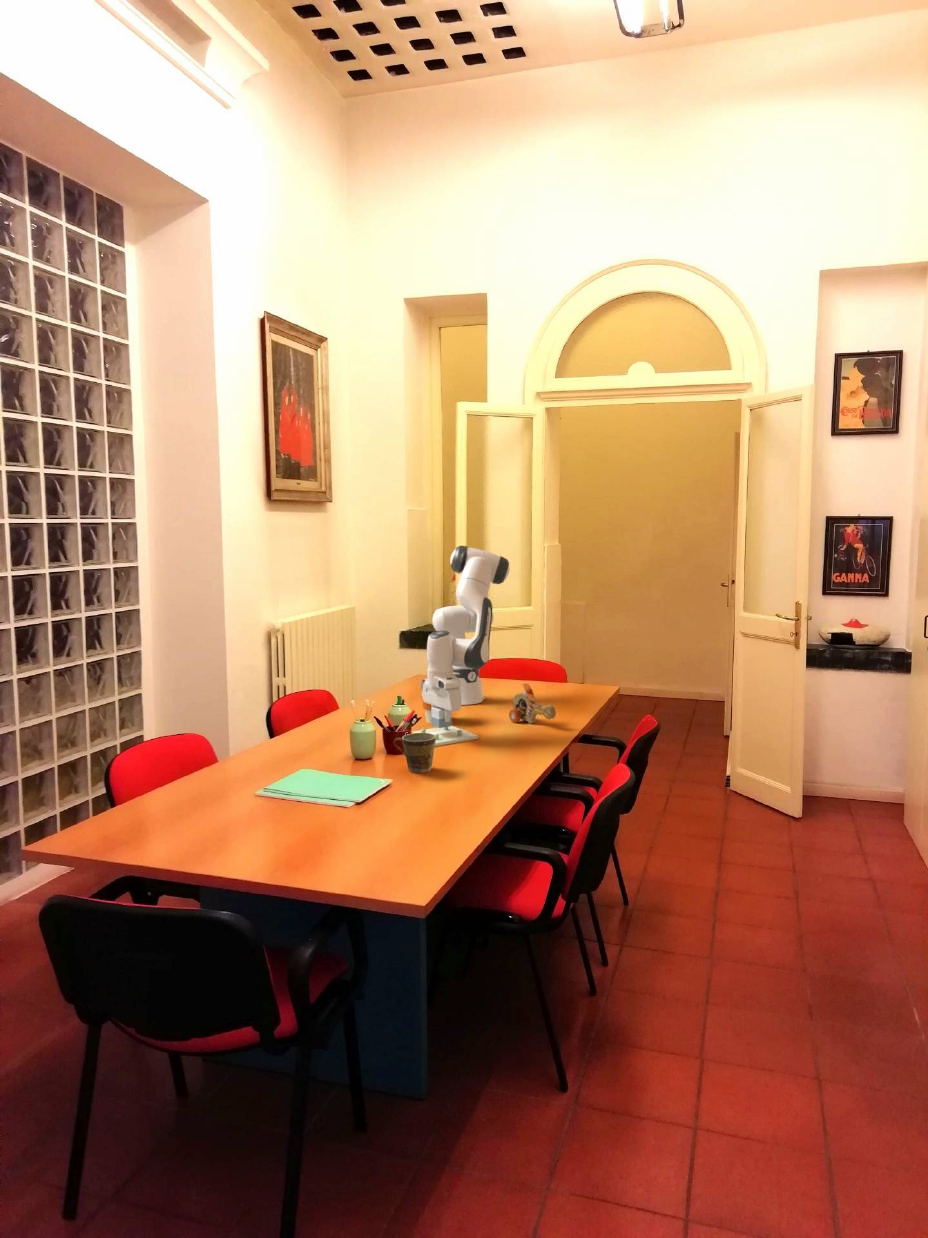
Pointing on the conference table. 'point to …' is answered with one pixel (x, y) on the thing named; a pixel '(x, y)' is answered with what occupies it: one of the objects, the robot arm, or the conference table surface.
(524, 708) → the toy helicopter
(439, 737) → the baseplate
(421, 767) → the ceramic cup
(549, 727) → the conference table surface
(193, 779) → the conference table surface
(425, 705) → the reusable coffee cup
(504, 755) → the conference table surface
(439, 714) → the brick stack
